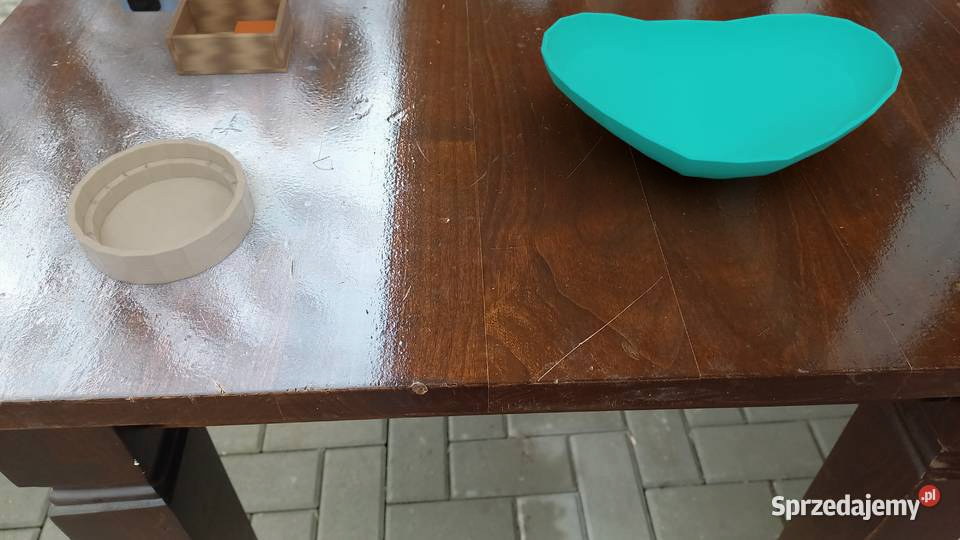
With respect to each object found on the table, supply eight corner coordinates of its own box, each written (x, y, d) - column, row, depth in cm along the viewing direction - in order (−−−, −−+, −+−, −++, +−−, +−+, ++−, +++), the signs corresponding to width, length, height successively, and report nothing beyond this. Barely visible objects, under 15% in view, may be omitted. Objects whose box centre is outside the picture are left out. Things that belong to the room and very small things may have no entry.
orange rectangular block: (239, 55, 96) (233, 34, 94) (242, 41, 99) (237, 21, 96) (279, 54, 97) (274, 33, 94) (282, 40, 99) (277, 20, 96)
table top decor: (540, 223, 77) (552, 127, 67) (524, 78, 95) (532, -15, 85) (890, 221, 78) (953, 127, 68) (809, 79, 96) (850, -13, 86)
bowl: (64, 292, 70) (41, 259, 66) (112, 174, 81) (94, 141, 77) (242, 284, 71) (229, 251, 67) (264, 169, 82) (254, 135, 78)
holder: (178, 75, 94) (164, 38, 90) (193, 33, 101) (181, -4, 97) (286, 72, 95) (278, 35, 91) (294, 30, 102) (287, -6, 97)
